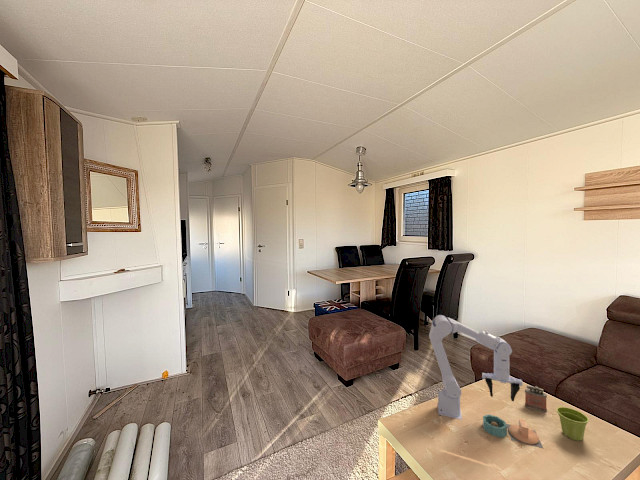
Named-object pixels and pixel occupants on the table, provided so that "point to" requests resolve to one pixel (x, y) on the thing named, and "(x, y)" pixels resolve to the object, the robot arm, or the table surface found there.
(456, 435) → the table surface
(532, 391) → the lighter
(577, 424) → the plant pot
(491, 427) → the bowl
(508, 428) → the mat
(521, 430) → the lid
